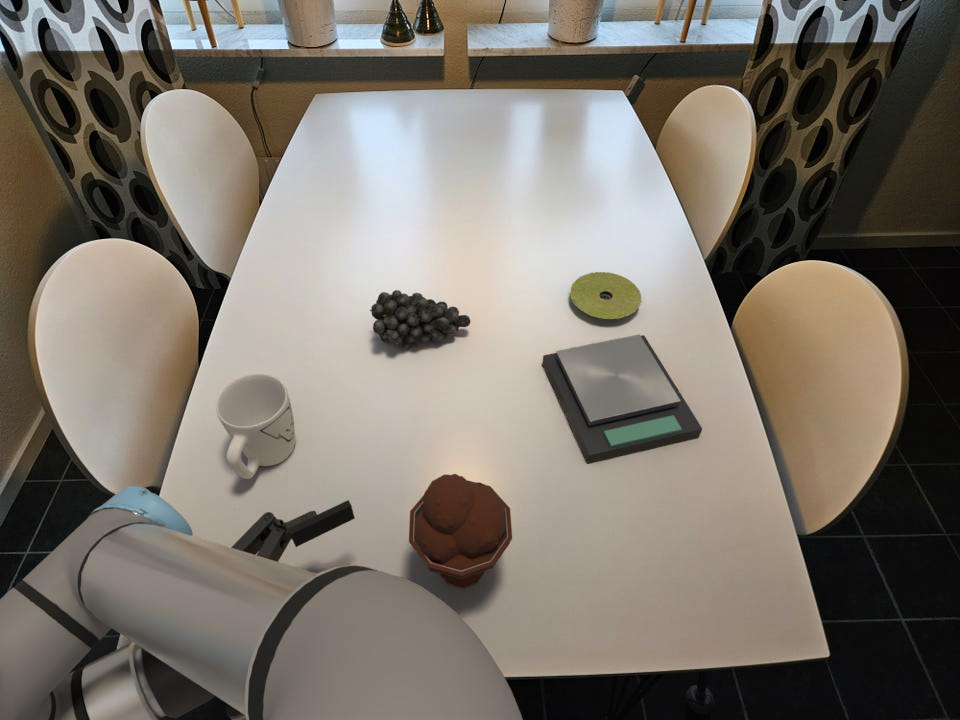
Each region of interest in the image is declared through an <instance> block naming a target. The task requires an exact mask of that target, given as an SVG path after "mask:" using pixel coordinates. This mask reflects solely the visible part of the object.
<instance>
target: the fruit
mask: <svg viewBox="0 0 960 720" xmlns="http://www.w3.org/2000/svg"><path fill="white" fill-rule="evenodd" d="M369 312H370V313H371V316H372V317H373V318H374V322H373V323H372V330H373V332H374V333H375V334H377V335H378V337H379V340H380V341H381V342H382V343H386V344H387V343H390V342H393V343H395V344H398V346H399V348H400V349H402V350H407V349H409V348H410V347H411V345H412V343H415V344H418V343H420V342H421V343H426V342H427V341H429V339H430V338H431V340H432V341H433V342H435V341H436V342H440V341H441V340H442V339H445V338H447V337H449V336H454V335H455V334H456V333H457V332H458V331H459V328H468V327H469V326H470V324H471V319H470V316H469V315H467V314H462V315H460V310H459V308H458V307H456V306H450V307H449V305H448V304H447V302H445V301H439V302H436V301H435V300H434V299H431V298H428V299H427V298H425V297H424V296H423V294H422V293H420V292H414V293H412V295H408V294H407V293H402V291H401V290H399V289H395V290H393V291H392V293H388V292H386V291H382V292H380V293H379V294H378V297H377V299H376V302H375V303H373V304H372V306H371V308H370V309H369Z"/></svg>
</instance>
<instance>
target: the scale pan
mask: <svg viewBox="0 0 960 720" xmlns="http://www.w3.org/2000/svg"><path fill="white" fill-rule="evenodd" d="M641 336H642V335H640V334H635V335H630V336H625V337H619V338H614V339H610V340H605V341H599V342H594V343H589V344H585V345H580V346H575V347H570V348H565V349H560V350H556V351H555V353H556V358H557V360H558V362H559V364H560V366H561V368H562V370H563V372H564V374H565V376H566V378H567V380H568V383H569V385H570V387H571V389H572V391H573V393H574V395H575V397H576V399H577V401H578V403H579V405H580V408H581V410H582V412H583V414H584V416H585V418H586V420H587V422H588V424H589V426H590V425H595V424H599V423H604V422H608V421H613V420H617V419H622V418H626V417H630V416H635V415H639V414H644V413H648V412H653V411H657V410H662V409H666V408H670V407H675V406H679V405H680V402H681V400H680V399H679V397H678V396H677V394H676V392H675V391H674V389H673V388H672V386H671V384H670V383H669V381H668V379H667V378H666V376H665V375H664V373H663V371H662V370H661V368H660V366H659V365H658V363H657V362H656V360H655V358H654V357H653V355H652V354H651V352H650V350H649V349H648V347H647V345H646V344H645V342H644V341H643V339H642V337H641Z"/></svg>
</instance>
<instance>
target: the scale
mask: <svg viewBox="0 0 960 720" xmlns="http://www.w3.org/2000/svg"><path fill="white" fill-rule="evenodd" d="M640 336H641V337H642V339H643V341H644V342H645V344H646V345H647V347H648V349H649V350H650V352H651V354H652V355H653V357H654V358H655V360H656V362H657V363H658V365H659V366H660V368H661V370H662V371H663V373H664V375H665V376H666V378H667V379H668V381H669V383H670V384H671V386H672V388H673V389H674V391H675V392H676V394H677V396H678V397H679V399H680V400H681V402H680V405H679V406H675V407H670V408H666V409H662V410H657V411H653V412H648V413H644V414H639V415H635V416H630V417H626V418H622V419H617V420H613V421H608V422H604V423H599V424H595V425H590V426H589V424H588V422H587V420H586V418H585V416H584V414H583V412H582V410H581V408H580V405H579V403H578V401H577V399H576V397H575V395H574V393H573V391H572V389H571V387H570V385H569V383H568V380H567V378H566V376H565V374H564V372H563V370H562V368H561V366H560V364H559V362H558V360H557V358H556V352H554V353H553V352H552V353H549V354H544V355H543V356H542V367H543V369H544V371H545V374H546V376H547V378H548V380H549V383H550V384H551V387H552V389H553V391H554V393H555V396H556V398H557V400H558V402H559V404H560V406H561V409H562V411H563V412H564V415H565V418H566V420H567V422H568V424H569V426H570V429H571V431H572V433H573V435H574V437H575V439H576V441H577V444H578V446H579V448H580V450H581V452H582V455H583V457H584V459H585V462H586V464H593V463H596V462H601V461H604V460H609V459H614V458H618V457H621V456H625V455H631V454H634V453H635V454H636V453H639V452H643V451H648V450H651V449H655V448H659V447H664V446H668V445H673V444H677V443H682V442H685V441H689V440H690V441H691V440H694V439H698V438H700V436H701V433H702V431H703V427H702V426H701V424H700V422H699V421H698V419H697V418H696V416H695V414H694V413H693V411H692V409H691V408H690V406H689V405H688V403H687V401H686V400H685V397H683V395H682V393H681V391H680V390H679V389H678V387H677V386H676V384H675V382H674V380H673V379H672V377H671V376H670V375H669V372H668V371H667V370H666V367H665V366H664V364H663V363H662V361H661V360H660V358H659V357H658V355H657V353H656V352H655V350H654V348H653V347H652V346H651V343H650V342H649V341H648V339H647V337H646V336H645V335H644V334H643V335H640Z"/></svg>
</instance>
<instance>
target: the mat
mask: <svg viewBox="0 0 960 720" xmlns="http://www.w3.org/2000/svg"><path fill="white" fill-rule="evenodd" d="M569 293H570V298H571V299H570V300H571V301H572V303H573V304H574V305H575V306H576V308H577V309H580V311H581V312H583V313H585V314H587V315H589V316H590V317H593V318H597V319H603V320H615V319H616V320H619V319H623V318H625V317H628V316H630V315H631V314H634V313H635V312H637V310H638V309H639V307H640V306H641V304H642V294H641V292H640V289H639V288H638V287H637V285H636V284H635V283H634V282H632V281H631V280H630V279H628V278H626V276H625V277H624V275H619V274H616V273H613V272H607V271H606V272H605V271H594V272H590V273H586V274H583V275H581V276H580V277H578V278H576V280H574V281H573V283H572V285H571V287H570V291H569Z"/></svg>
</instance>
